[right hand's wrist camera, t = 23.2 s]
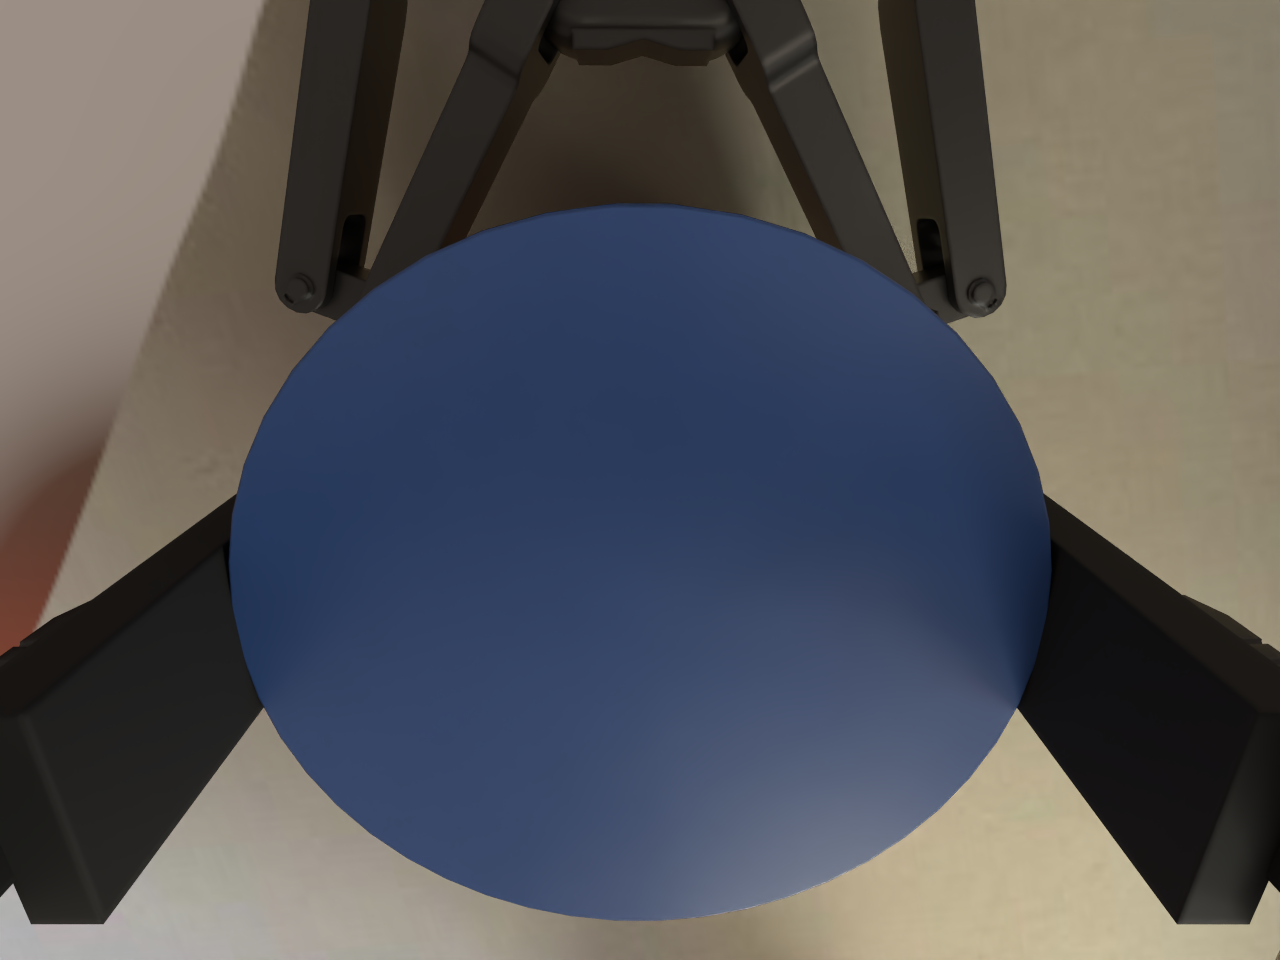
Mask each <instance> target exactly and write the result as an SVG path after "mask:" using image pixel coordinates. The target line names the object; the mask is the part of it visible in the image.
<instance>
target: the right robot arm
mask: <svg viewBox="0 0 1280 960" xmlns="http://www.w3.org/2000/svg"><path fill="white" fill-rule="evenodd" d="M1043 495H1044V499H1045V504H1046V509H1047V513H1048V518H1049V525H1050V543H1051V562H1052V575H1051V585H1050V595H1049V605H1048V611H1047V616H1046V620H1045V624H1044V628H1043V632H1042V636H1041V641H1040V645H1039V649H1038V653H1037V657H1036V661H1035V665H1034V668H1033V671H1032V673H1031V675H1030V678H1029V680H1028V683H1027V685H1026V688H1025V690H1024V693H1023V695H1022V697H1021V700H1020V702H1019V705H1018V706H1017V708H1018V710H1019V711H1020V712H1021V714H1022V715H1023V716H1024V718H1025V719H1026V720H1027V722H1028V723H1029V724H1030V726H1031V727H1032V728H1033V730H1034V731H1035V733H1036V734H1037V735H1038V737H1039V738H1040V739H1041V741H1042V742H1043V743H1044V745H1045V746H1046V747H1047V749H1048V750H1049V752H1050V753H1051V754H1052V756H1053V757H1054V758H1055V760H1056V761H1057V762H1058V764H1059V765H1060V766H1061V768H1062V769H1063V770H1064V772H1065V773H1066V775H1067V776H1068V777H1069V779H1070V780H1071V781H1072V783H1073V784H1074V785H1075V787H1076V788H1077V789H1078V791H1079V792H1080V793H1081V795H1082V796H1083V798H1084V799H1085V800H1086V802H1087V803H1088V804H1089V806H1090V807H1091V808H1092V810H1093V811H1094V812H1095V814H1096V815H1097V816H1098V818H1099V819H1100V821H1101V822H1102V823H1103V825H1104V826H1105V827H1106V829H1107V830H1108V831H1109V833H1110V834H1111V835H1112V837H1113V838H1114V839H1115V841H1116V842H1117V844H1118V845H1119V846H1120V848H1121V849H1122V850H1123V852H1124V853H1125V854H1126V856H1127V857H1128V858H1129V860H1130V861H1131V862H1132V864H1133V865H1134V867H1135V868H1136V869H1137V871H1138V872H1139V873H1140V875H1141V876H1142V877H1143V879H1144V880H1145V881H1146V883H1147V884H1148V885H1149V887H1150V888H1151V890H1152V891H1153V892H1154V894H1155V895H1156V896H1157V898H1158V899H1159V900H1160V902H1161V903H1162V904H1163V906H1164V907H1165V908H1166V910H1167V911H1168V913H1169V914H1170V915H1171V917H1172V918H1173V919H1174V921H1175V922H1176V923H1177V924H1250V922H1251V920H1252V917H1253V915H1254V913H1255V911H1256V908H1257V906H1258V904H1259V902H1260V899H1261V897H1262V895H1263V892H1264V890H1265V888H1266V886H1267V883H1268V881H1270V882H1271V883H1272V884H1273V885H1274V887H1275V888H1276V889H1277V890H1278V891H1279V892H1280V652H1279V651H1278V650H1276V649H1275V648H1273V647H1272V646H1270V645H1269V644H1262V639H1261V638H1259V637H1258V636H1256V635H1255V634H1254V633H1252V632H1251V631H1249V630H1248V629H1247V628H1245V627H1244V626H1242V625H1241V624H1240V623H1238V622H1237V621H1235V620H1234V619H1232V618H1231V617H1230V616H1228V615H1226V614H1224V613H1222V612H1220V611H1218V610H1216V609H1213V608H1211V607H1209V606H1207V605H1205V604H1203V603H1200V602H1198V601H1196V600H1194V599H1192V598H1190V597H1188V596H1185V595H1181V594H1180V593H1179V592H1177V591H1176V590H1174V589H1173V588H1172V587H1170V586H1169V585H1168V584H1166V583H1165V582H1164V581H1162V580H1161V579H1159V578H1158V577H1157V576H1155V575H1154V574H1153V573H1151V572H1150V571H1149V570H1147V569H1146V568H1144V567H1143V566H1142V565H1140V564H1139V563H1138V562H1136V561H1135V560H1134V559H1132V558H1131V557H1129V556H1128V555H1127V554H1125V553H1124V552H1123V551H1121V550H1120V549H1119V548H1117V547H1116V546H1114V545H1113V544H1112V543H1110V542H1109V541H1108V540H1106V539H1105V538H1104V537H1102V536H1101V535H1099V534H1098V533H1097V532H1095V531H1094V530H1093V529H1091V528H1090V527H1088V526H1087V525H1086V524H1084V523H1083V522H1082V521H1080V520H1079V519H1078V518H1076V517H1075V516H1073V515H1072V514H1071V513H1069V512H1068V511H1067V510H1065V509H1064V508H1063V507H1061V506H1060V505H1058V504H1057V503H1056V502H1054V501H1053V500H1052V499H1050V498H1049V497H1048V496H1046V495H1045V494H1043ZM236 496H237V494H236V495H234V496H233V497H232V498H230V499H229V500H227V501H226V502H225V503H223V504H222V505H221V506H219V507H218V508H217V509H215V510H214V511H212V512H211V513H210V514H208V515H207V516H206V517H204V518H203V519H202V520H200V521H199V522H197V523H196V524H195V525H193V526H192V527H191V528H189V529H188V530H187V531H185V532H184V533H182V534H181V535H180V536H178V537H177V538H176V539H174V540H173V541H172V542H170V543H169V544H167V545H166V546H165V547H163V548H162V549H161V550H159V551H158V552H157V553H155V554H154V555H152V556H151V557H150V558H148V559H147V560H146V561H144V562H143V563H142V564H140V565H139V566H137V567H136V568H135V569H133V570H132V571H131V572H129V573H128V574H127V575H125V576H124V577H122V578H121V579H120V580H118V581H117V582H116V583H114V584H113V585H112V586H110V587H109V588H107V589H106V590H105V591H103V592H102V593H101V594H99V595H98V596H97V597H95V598H94V599H92V600H91V601H89V602H86V603H84V604H82V605H80V606H78V607H76V608H74V609H72V610H69V611H67V612H65V613H63V614H61V615H59V616H57V617H54V618H53V619H51V620H50V621H49V622H47V623H46V624H44V625H43V626H42V627H40V628H39V629H37V630H36V631H35V632H33V633H32V634H30V635H29V636H28V637H26V638H25V639H23V640H22V641H21V642H20V646H19V647H12V648H11V649H10V650H8V651H7V652H5V653H4V654H3V655H1V656H0V897H1V896H2V895H3V894H4V893H5V891H6V890H7V889H8V888H9V887H10V886H11V885H12V884H14V886H15V889H16V891H17V893H18V895H19V898H20V900H21V902H22V904H23V907H24V909H25V911H26V914H27V916H28V918H29V920H30V923H31V924H104V923H105V921H106V920H107V919H108V917H109V916H110V915H111V913H112V912H113V911H114V909H115V908H116V906H117V905H118V904H119V902H120V901H121V900H122V898H123V897H124V896H125V894H126V893H127V892H128V890H129V889H130V887H131V886H132V885H133V883H134V882H135V881H136V879H137V878H138V877H139V875H140V874H141V873H142V871H143V870H144V869H145V867H146V866H147V864H148V863H149V862H150V860H151V859H152V858H153V856H154V855H155V854H156V852H157V851H158V850H159V848H160V847H161V846H162V844H163V843H164V841H165V840H166V839H167V837H168V836H169V835H170V833H171V832H172V831H173V829H174V828H175V827H176V825H177V824H178V823H179V821H180V820H181V818H182V817H183V816H184V814H185V813H186V812H187V810H188V809H189V808H190V806H191V805H192V804H193V802H194V801H195V800H196V798H197V797H198V795H199V794H200V793H201V791H202V790H203V789H204V787H205V786H206V785H207V783H208V782H209V781H210V779H211V778H212V776H213V775H214V774H215V772H216V771H217V770H218V768H219V767H220V766H221V764H222V763H223V762H224V760H225V759H226V758H227V756H228V755H229V753H230V752H231V751H232V749H233V748H234V747H235V745H236V744H237V743H238V741H239V740H240V739H241V737H242V736H243V735H244V733H245V732H246V730H247V729H248V728H249V726H250V725H251V724H252V722H253V721H254V720H255V718H256V717H257V716H258V714H259V713H260V712H261V710H262V709H263V707H264V706H263V705H262V703H261V701H260V699H259V697H258V695H257V692H256V689H255V687H254V684H253V682H252V679H251V676H250V674H249V671H248V669H247V665H246V662H245V658H244V654H243V650H242V646H241V642H240V637H239V633H238V629H237V625H236V620H235V616H234V612H233V607H232V602H231V591H230V578H229V565H228V561H229V548H230V535H231V522H232V513H233V508H234V504H235V500H236ZM1276 960H1280V951H1279V953H1278V955H1277V958H1276Z"/></svg>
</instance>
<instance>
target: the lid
mask: <svg viewBox="0 0 1280 960" xmlns="http://www.w3.org/2000/svg"><path fill="white" fill-rule="evenodd" d="M228 565H229V578H230V591H231V602H232V607H233V612H234V616H235V620H236V625H237V629H238V633H239V637H240V642H241V646H242V650H243V654H244V658H245V662H246V665H247V669H248V671H249V674H250V676H251V679H252V682H253V684H254V687H255V689H256V692H257V695H258V697H259V699H260V701H261V703H262V705H263V706H264V708H265V710H266V712H267V714H268V716H269V717H270V719H271V721H272V723H273V725H274V726H275V728H276V730H277V732H278V734H279V735H280V737H281V739H282V740H283V741H284V743H285V744H286V745H287V747H288V748H289V749H290V751H291V752H292V754H293V755H294V756H295V758H296V759H297V760H298V762H299V763H300V765H301V766H302V767H303V769H304V770H305V771H306V773H307V774H308V775H309V776H310V777H311V778H312V779H313V780H314V781H315V782H316V783H317V784H318V786H319V787H320V788H321V789H322V790H323V791H324V792H325V793H326V794H327V795H328V796H329V797H330V798H331V799H332V800H333V801H334V803H335V804H336V805H337V806H339V807H340V808H341V809H342V810H343V811H344V812H346V813H347V814H348V815H349V816H350V817H352V818H353V819H354V820H355V821H356V822H357V823H359V824H360V825H361V826H362V827H363V828H365V829H366V830H367V831H368V832H369V833H370V834H372V835H373V836H375V837H376V838H378V839H379V840H381V841H382V842H384V843H385V844H387V845H388V846H390V847H391V848H393V849H394V850H396V851H397V852H399V853H400V854H402V855H403V856H405V857H406V858H408V859H410V860H412V861H413V862H415V863H417V864H419V865H421V866H423V867H425V868H427V869H429V870H430V871H432V872H434V873H436V874H438V875H440V876H442V877H444V878H446V879H448V880H450V881H453V882H455V883H458V884H460V885H463V886H465V887H468V888H470V889H473V890H475V891H477V892H480V893H482V894H485V895H488V896H491V897H494V898H498V899H501V900H504V901H508V902H511V903H515V904H518V905H521V906H525V907H528V908H533V909H538V910H543V911H548V912H553V913H558V914H564V915H569V916H576V917H586V918H596V919H606V920H626V921H662V920H673V919H685V918H697V917H705V916H711V915H716V914H722V913H727V912H733V911H739V910H744V909H748V908H752V907H755V906H759V905H762V904H766V903H770V902H773V901H777V900H780V899H784V898H787V897H790V896H793V895H795V894H798V893H800V892H803V891H805V890H808V889H811V888H813V887H816V886H818V885H821V884H823V883H826V882H829V881H831V880H832V879H834V878H836V877H838V876H840V875H842V874H844V873H846V872H848V871H850V870H852V869H854V868H856V867H858V866H860V865H862V864H864V863H866V862H868V861H869V860H871V859H872V858H874V857H876V856H877V855H879V854H880V853H882V852H883V851H885V850H886V849H888V848H889V847H891V846H892V845H894V844H896V843H897V842H899V841H900V840H902V839H903V838H905V837H906V836H907V835H908V834H910V833H911V832H912V831H913V830H915V829H916V828H917V827H918V826H919V825H921V824H922V823H923V822H924V821H926V820H927V819H928V818H929V817H931V816H932V815H933V814H934V813H935V812H937V811H938V810H939V809H940V808H941V807H942V806H943V805H944V804H945V803H946V802H947V801H948V800H949V799H950V798H951V797H952V796H953V795H954V794H955V793H956V792H957V790H958V789H959V788H960V787H961V786H962V785H963V784H964V783H965V782H966V781H967V780H968V779H969V778H970V777H971V776H972V774H973V773H974V772H975V770H976V769H977V768H978V766H979V765H980V764H981V762H982V761H983V760H984V758H985V757H986V756H987V755H988V753H989V752H990V751H991V749H992V748H993V747H994V745H995V744H996V743H997V741H998V739H999V737H1000V736H1001V734H1002V732H1003V731H1004V729H1005V727H1006V725H1007V724H1008V722H1009V720H1010V718H1011V717H1012V715H1013V713H1014V711H1015V710H1016V708H1017V706H1018V705H1019V702H1020V700H1021V697H1022V695H1023V693H1024V690H1025V688H1026V685H1027V683H1028V680H1029V678H1030V675H1031V673H1032V671H1033V668H1034V665H1035V661H1036V657H1037V653H1038V649H1039V645H1040V641H1041V636H1042V632H1043V628H1044V624H1045V620H1046V616H1047V611H1048V605H1049V595H1050V585H1051V575H1052V562H1051V543H1050V525H1049V518H1048V513H1047V509H1046V504H1045V499H1044V495H1043V490H1042V485H1041V481H1040V476H1039V472H1038V469H1037V466H1036V464H1035V461H1034V459H1033V456H1032V453H1031V451H1030V448H1029V446H1028V443H1027V441H1026V438H1025V435H1024V433H1023V430H1022V428H1021V425H1020V423H1019V421H1018V419H1017V418H1016V416H1015V414H1014V413H1013V411H1012V409H1011V407H1010V406H1009V404H1008V402H1007V401H1006V399H1005V397H1004V395H1003V394H1002V392H1001V390H1000V388H999V387H998V385H997V383H996V382H995V380H994V378H993V377H992V375H991V374H990V373H989V372H988V370H987V369H986V368H985V367H984V366H983V364H982V363H981V362H980V361H979V359H978V358H977V357H976V356H975V355H974V353H973V352H972V351H971V350H970V348H969V347H968V346H967V345H966V343H965V342H964V341H963V340H962V339H961V337H960V336H959V335H958V334H957V333H956V332H955V331H954V330H953V329H952V328H951V327H950V326H949V325H947V324H946V323H945V322H944V321H943V320H942V319H941V318H940V317H939V316H937V315H936V314H935V313H934V312H933V311H932V310H931V309H930V308H929V307H928V306H926V305H925V304H924V303H923V302H922V301H921V300H920V299H919V298H918V297H916V296H915V295H914V294H913V293H911V292H910V291H908V290H907V289H905V288H904V287H902V286H901V285H899V284H898V283H896V282H895V281H893V280H892V279H890V278H889V277H887V276H886V275H884V274H883V273H881V272H880V271H878V270H877V269H875V268H874V267H872V266H870V265H869V264H867V263H866V262H864V261H863V260H861V259H859V258H857V257H855V256H852V255H850V254H848V253H846V252H844V251H842V250H840V249H837V248H835V247H833V246H831V245H829V244H827V243H825V242H822V241H820V240H818V239H816V238H814V237H812V236H809V235H807V234H805V233H802V232H799V231H795V230H792V229H789V228H785V227H782V226H779V225H775V224H772V223H769V222H765V221H762V220H759V219H755V218H752V217H749V216H745V215H741V214H735V213H729V212H722V211H716V210H709V209H702V208H696V207H689V206H683V205H676V204H659V203H614V204H607V205H599V206H591V207H584V208H576V209H569V210H562V211H555V212H548V213H544V214H540V215H537V216H533V217H529V218H526V219H522V220H519V221H515V222H511V223H508V224H504V225H501V226H497V227H493V228H490V229H486V230H483V231H481V232H479V233H476V234H474V235H472V236H469V237H467V238H465V239H463V240H460V241H458V242H456V243H454V244H451V245H449V246H447V247H444V248H442V249H440V250H438V251H435V252H433V253H431V254H429V255H426V256H425V257H423V258H421V259H420V260H418V261H417V262H415V263H413V264H412V265H410V266H409V267H407V268H405V269H404V270H402V271H401V272H399V273H398V274H396V275H394V276H393V277H391V278H390V279H388V280H386V281H385V282H383V283H382V284H380V285H378V286H377V287H375V288H374V289H373V290H371V291H370V292H369V293H368V294H367V295H366V296H364V297H363V298H362V299H361V300H360V301H359V302H357V303H356V304H355V305H354V306H353V307H352V308H350V309H349V310H348V311H347V312H346V313H345V314H344V315H342V316H341V317H340V318H339V319H338V320H337V321H335V322H334V323H333V324H332V325H331V326H330V327H329V328H328V329H327V330H326V331H325V332H324V333H323V335H322V336H321V337H320V338H319V339H318V341H317V342H316V343H315V344H314V345H313V346H312V348H311V349H310V350H309V351H308V352H307V353H306V355H305V356H304V357H303V358H302V359H301V360H300V362H299V363H298V364H297V365H296V366H295V367H294V369H293V370H292V371H291V373H290V375H289V376H288V378H287V379H286V381H285V383H284V384H283V386H282V388H281V389H280V391H279V393H278V394H277V396H276V397H275V399H274V401H273V402H272V404H271V406H270V407H269V409H268V410H267V412H266V414H265V415H264V417H263V420H262V422H261V425H260V427H259V429H258V432H257V434H256V437H255V439H254V441H253V444H252V446H251V449H250V451H249V454H248V456H247V458H246V461H245V463H244V466H243V471H242V475H241V479H240V483H239V487H238V492H237V496H236V500H235V504H234V508H233V513H232V522H231V535H230V548H229V561H228Z"/></svg>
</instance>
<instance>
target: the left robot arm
mask: <svg viewBox="0 0 1280 960" xmlns="http://www.w3.org/2000/svg"><path fill="white" fill-rule="evenodd" d="M407 4H408V0H310V6H309V14H308V22H307V30H306V38H305V46H304V54H303V62H302V69H301V77H300V85H299V93H298V101H297V109H296V117H295V125H294V133H293V141H292V149H291V157H290V165H289V173H288V180H287V188H286V196H285V204H284V212H283V220H282V228H281V236H280V244H279V252H278V260H277V268H276V276H275V288H276V292H277V294H278V296H279V299H280V300H281V301H282V302H283V303H284V304H285V305H286V306H287V307H288V308H289V309H291V310H293V311H295V312H299V313H309V312H315V313H318V314H320V315H323V316H326V317H329V318H332V319H334V320H338V319H339V318H340V317H341V316H342V315H344V314H345V313H346V312H347V311H348V310H349V309H350V308H352V307H353V306H354V305H355V304H356V303H357V302H359V301H360V300H361V299H362V298H363V297H364V296H366V295H367V294H368V293H369V292H370V291H371V290H373V289H374V288H375V287H377V286H378V285H380V284H382V283H383V282H385V281H386V280H388V279H390V278H391V277H393V276H394V275H396V274H398V273H399V272H401V271H402V270H404V269H405V268H407V267H409V266H410V265H412V264H413V263H415V262H417V261H418V260H420V259H421V258H423V257H425V256H426V255H429V254H431V253H433V252H435V251H438V250H440V249H442V248H444V247H447V246H449V245H451V244H454V243H456V242H458V241H460V240H463V239H465V238H466V236H467V234H468V232H469V230H470V228H471V226H472V224H473V222H474V220H475V218H476V216H477V214H478V212H479V210H480V208H481V206H482V204H483V202H484V200H485V198H486V196H487V193H488V191H489V189H490V187H491V185H492V183H493V181H494V179H495V177H496V175H497V173H498V171H499V169H500V167H501V165H502V163H503V161H504V159H505V157H506V155H507V153H508V151H509V149H510V147H511V145H512V143H513V141H514V139H515V137H516V135H517V132H518V130H519V128H520V126H521V124H522V122H523V120H524V118H525V116H526V114H527V112H528V110H529V108H530V106H531V104H532V102H533V101H534V99H535V98H536V97H537V96H538V95H539V93H540V92H541V90H542V89H543V87H544V85H545V83H546V82H547V80H548V78H549V76H550V74H551V71H552V69H553V67H554V65H555V63H556V61H557V59H558V57H559V55H560V53H562V54H564V55H566V56H568V57H571V58H574V59H577V61H578V63H579V65H613V64H616V63H620V62H623V61H626V60H630V59H633V58H636V57H640V56H646V57H649V58H652V59H656V60H659V61H662V62H665V63H668V64H671V65H675V66H707V64H708V62H709V60H712V59H716V58H718V57H720V56H722V55H724V54H725V55H726V57H727V59H728V61H729V63H730V66H731V68H732V70H733V72H734V74H735V76H736V78H737V80H738V82H739V84H740V86H741V88H742V90H743V92H744V93H745V95H746V96H747V97H748V98H749V99H750V101H751V102H752V104H753V106H754V108H755V110H756V112H757V114H758V116H759V118H760V120H761V122H762V125H763V127H764V129H765V131H766V133H767V135H768V137H769V139H770V141H771V143H772V146H773V148H774V150H775V152H776V154H777V156H778V158H779V160H780V162H781V165H782V167H783V169H784V171H785V173H786V175H787V177H788V179H789V181H790V184H791V186H792V188H793V190H794V192H795V194H796V196H797V198H798V200H799V203H800V205H801V207H802V209H803V211H804V213H805V215H806V217H807V219H808V222H809V224H810V226H811V228H812V230H813V232H814V234H815V236H816V238H817V239H818V240H820V241H822V242H825V243H827V244H829V245H831V246H833V247H835V248H837V249H840V250H842V251H844V252H846V253H848V254H850V255H852V256H855V257H857V258H859V259H861V260H863V261H864V262H866V263H867V264H869V265H870V266H872V267H874V268H875V269H877V270H878V271H880V272H881V273H883V274H884V275H886V276H887V277H889V278H890V279H892V280H893V281H895V282H896V283H898V284H899V285H901V286H902V287H904V288H905V289H907V290H908V291H910V292H911V293H913V294H914V295H915V296H916V297H918V298H919V299H920V300H921V301H922V302H923V303H924V304H925V305H926V306H928V307H929V308H930V309H931V310H932V311H933V312H934V313H935V314H936V315H937V316H939V317H940V318H941V319H942V320H943V321H944V322H945V323H946V324H947V323H950V322H953V321H956V320H959V319H962V318H964V317H967V316H971V317H974V318H977V317H985V316H987V315H989V314H991V313H993V312H994V311H995V310H996V309H997V308H998V307H999V306H1000V305H1001V304H1002V302H1003V300H1004V297H1005V295H1006V277H1005V268H1004V259H1003V250H1002V241H1001V232H1000V223H999V214H998V205H997V196H996V187H995V178H994V169H993V160H992V151H991V142H990V133H989V124H988V115H987V106H986V97H985V88H984V79H983V70H982V61H981V52H980V43H979V34H978V25H977V16H976V7H975V0H878V10H879V20H880V30H881V37H882V43H883V50H884V56H885V63H886V69H887V76H888V82H889V89H890V95H891V102H892V108H893V115H894V121H895V128H896V134H897V140H898V147H899V153H900V160H901V166H902V173H903V179H904V186H905V192H906V199H907V205H908V212H909V218H910V225H911V231H912V238H913V244H914V251H915V257H916V264H917V270H918V272H915V273H912V272H911V270H910V268H909V266H908V263H907V261H906V259H905V256H904V254H903V252H902V249H901V247H900V245H899V243H898V240H897V238H896V236H895V233H894V231H893V229H892V226H891V224H890V222H889V220H888V217H887V215H886V213H885V210H884V208H883V206H882V203H881V201H880V199H879V197H878V194H877V192H876V190H875V187H874V185H873V183H872V181H871V178H870V176H869V174H868V171H867V169H866V167H865V164H864V162H863V160H862V158H861V155H860V153H859V151H858V148H857V146H856V144H855V141H854V139H853V137H852V135H851V132H850V130H849V128H848V125H847V123H846V121H845V118H844V116H843V114H842V112H841V109H840V107H839V105H838V102H837V100H836V98H835V95H834V93H833V91H832V89H831V86H830V84H829V82H828V79H827V77H826V75H825V72H824V70H823V68H822V66H821V63H820V60H819V57H818V53H817V42H816V38H815V34H814V31H813V28H812V26H811V23H810V21H809V18H808V16H807V14H806V12H805V9H804V7H803V5H802V2H801V0H485V2H484V4H483V6H482V9H481V11H480V13H479V15H478V17H477V20H476V22H475V25H474V27H473V30H472V33H471V37H470V42H469V51H468V55H467V58H466V60H465V63H464V65H463V67H462V69H461V72H460V74H459V76H458V78H457V80H456V83H455V85H454V87H453V89H452V91H451V94H450V96H449V98H448V100H447V102H446V105H445V107H444V109H443V111H442V113H441V116H440V118H439V120H438V122H437V125H436V127H435V129H434V131H433V133H432V136H431V138H430V140H429V142H428V144H427V147H426V149H425V151H424V153H423V155H422V158H421V160H420V162H419V164H418V166H417V169H416V171H415V173H414V175H413V178H412V180H411V182H410V184H409V186H408V189H407V191H406V193H405V195H404V197H403V200H402V202H401V204H400V206H399V208H398V211H397V213H396V215H395V217H394V219H393V222H392V224H391V226H390V228H389V231H388V233H387V235H386V237H385V239H384V242H383V244H382V246H381V248H380V250H379V253H378V255H377V257H376V259H375V261H374V264H373V266H372V268H371V270H369V269H366V268H364V265H365V259H366V253H367V248H368V242H369V236H370V230H371V224H372V218H373V212H374V206H375V200H376V194H377V188H378V182H379V177H380V171H381V165H382V159H383V153H384V147H385V141H386V135H387V129H388V123H389V117H390V112H391V106H392V100H393V94H394V88H395V82H396V76H397V70H398V64H399V58H400V52H401V47H402V41H403V35H404V29H405V22H406V13H407Z"/></svg>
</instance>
